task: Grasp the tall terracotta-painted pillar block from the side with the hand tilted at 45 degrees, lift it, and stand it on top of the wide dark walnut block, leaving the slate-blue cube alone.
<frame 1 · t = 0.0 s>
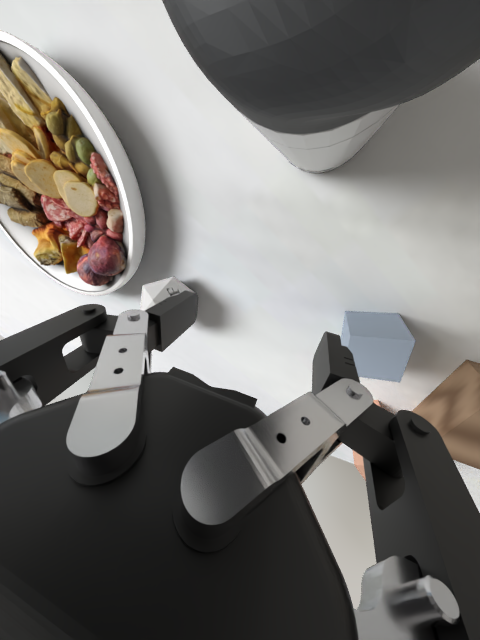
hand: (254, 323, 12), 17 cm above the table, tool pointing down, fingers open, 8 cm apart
die: (183, 294, 36), on the table
bowl: (78, 198, 33), on the table
slate cube: (366, 331, 28), on the table
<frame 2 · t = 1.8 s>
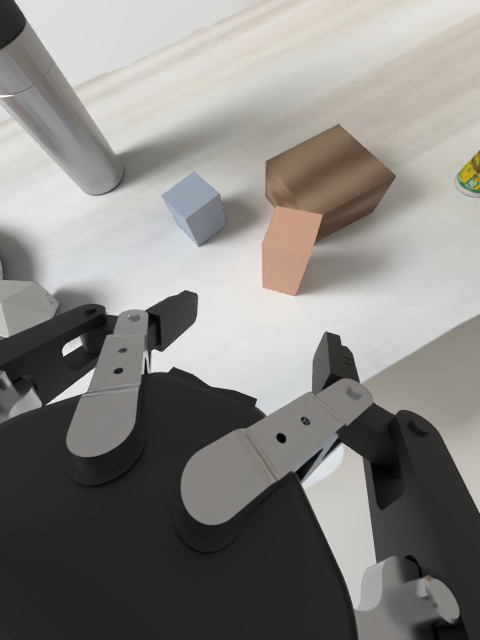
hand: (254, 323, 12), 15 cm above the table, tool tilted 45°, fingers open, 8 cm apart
supplement bottle: (471, 185, 31), on the table
die: (46, 317, 33), on the table
walnut block: (316, 204, 33), on the table
pillar block: (283, 277, 30), on the table
slate cube: (202, 225, 34), on the table
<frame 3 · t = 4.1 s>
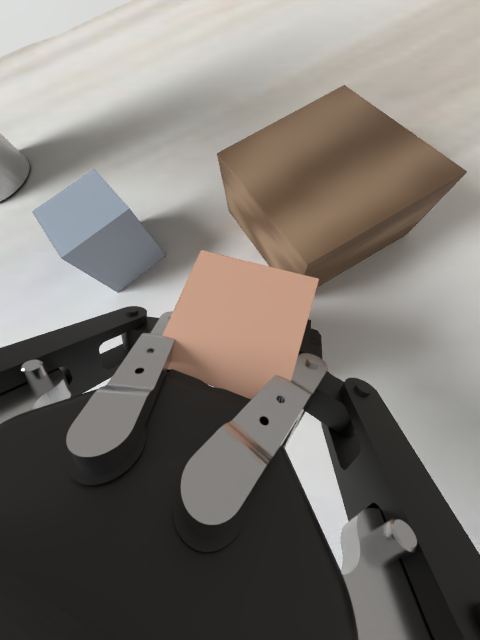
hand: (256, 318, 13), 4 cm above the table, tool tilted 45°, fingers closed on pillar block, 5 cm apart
walnut block: (310, 223, 20), on the table
pillar block: (251, 354, 17), on the table, touching gripper
slate cube: (128, 255, 21), on the table
when the fingers open (11 cm above the table, at t = 9.3 s): pillar block stays where it is, resting on walnut block.
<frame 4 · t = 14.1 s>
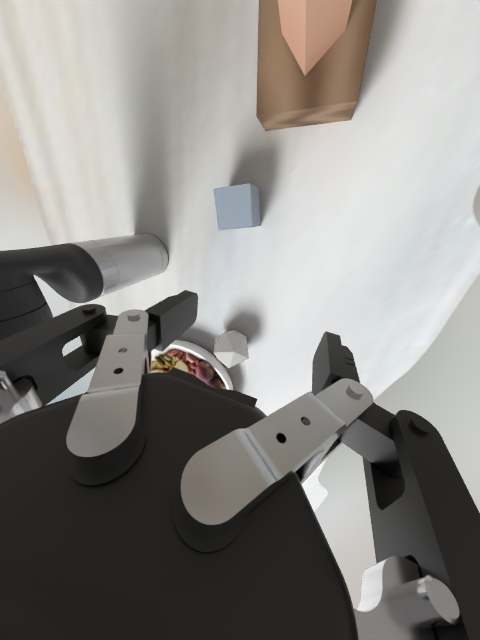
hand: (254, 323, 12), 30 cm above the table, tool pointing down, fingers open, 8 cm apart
die: (236, 339, 52), on the table
bowl: (192, 375, 64), on the table
walnut block: (312, 67, 27), on the table, touching pillar block
pillar block: (312, 31, 22), point 6 cm above the table, touching walnut block
slate cube: (244, 208, 38), on the table
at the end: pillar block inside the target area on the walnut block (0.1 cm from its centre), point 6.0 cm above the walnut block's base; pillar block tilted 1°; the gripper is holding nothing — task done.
